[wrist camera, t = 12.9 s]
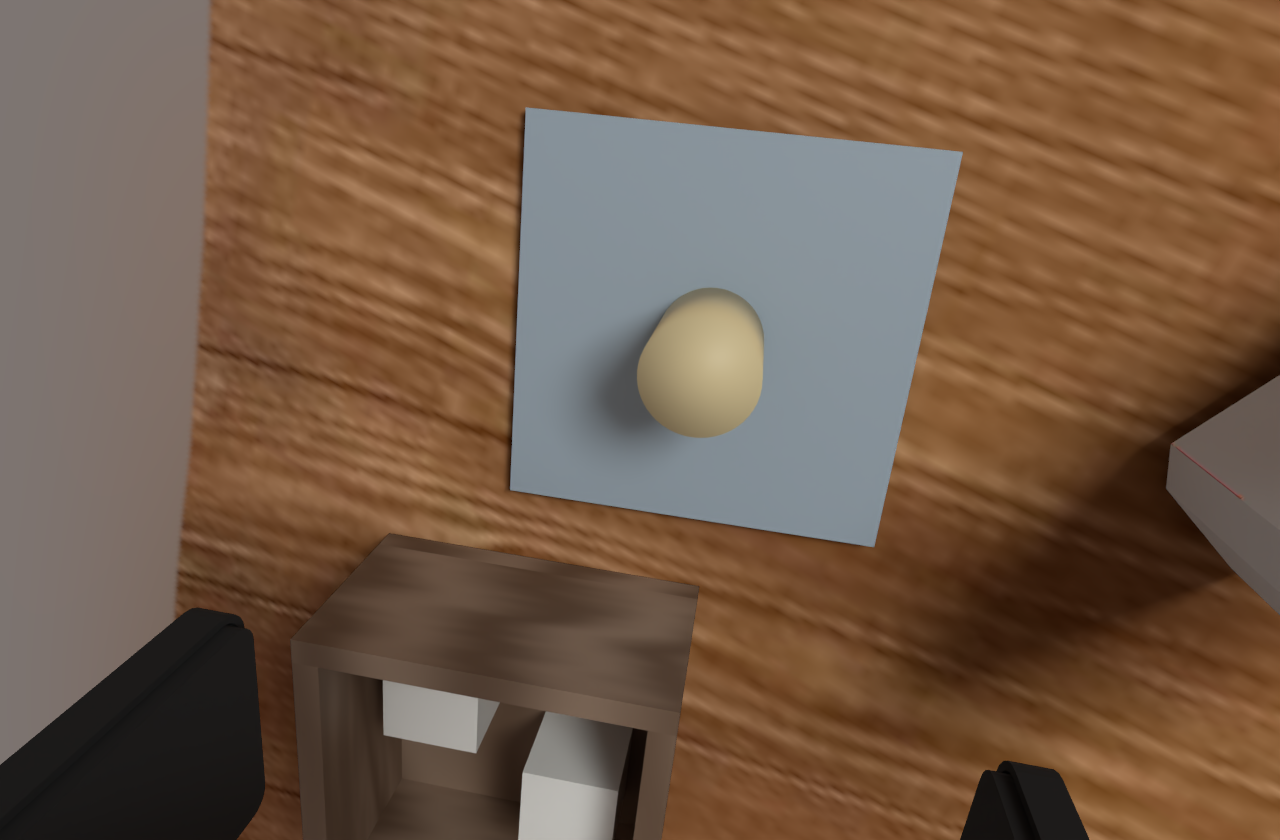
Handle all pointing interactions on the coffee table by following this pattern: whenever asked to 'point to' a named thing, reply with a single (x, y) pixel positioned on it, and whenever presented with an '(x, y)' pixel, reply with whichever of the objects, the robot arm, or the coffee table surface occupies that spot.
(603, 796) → the cube
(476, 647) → the box
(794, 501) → the lid
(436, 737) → the cube
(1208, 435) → the bevelled white case
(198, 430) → the coffee table surface
